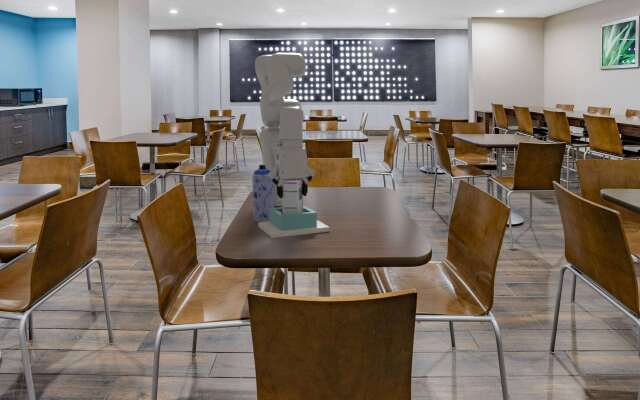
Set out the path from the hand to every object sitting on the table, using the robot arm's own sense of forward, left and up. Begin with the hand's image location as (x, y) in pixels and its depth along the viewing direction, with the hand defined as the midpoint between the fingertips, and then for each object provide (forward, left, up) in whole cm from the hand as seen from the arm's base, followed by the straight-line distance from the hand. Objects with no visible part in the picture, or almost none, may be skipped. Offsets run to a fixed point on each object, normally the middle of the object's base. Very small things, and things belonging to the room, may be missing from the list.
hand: (292, 196), depth 181 cm
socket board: (0, 0, -11) cm, 11 cm away
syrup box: (0, 0, -9) cm, 9 cm away
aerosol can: (-18, -5, -12) cm, 22 cm away
